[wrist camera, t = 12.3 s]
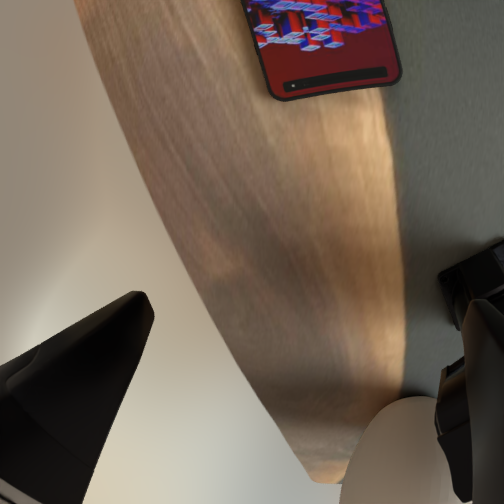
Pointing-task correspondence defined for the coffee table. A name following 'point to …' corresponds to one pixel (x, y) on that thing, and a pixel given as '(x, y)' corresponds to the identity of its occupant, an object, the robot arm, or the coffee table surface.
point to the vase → (400, 459)
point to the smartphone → (323, 46)
